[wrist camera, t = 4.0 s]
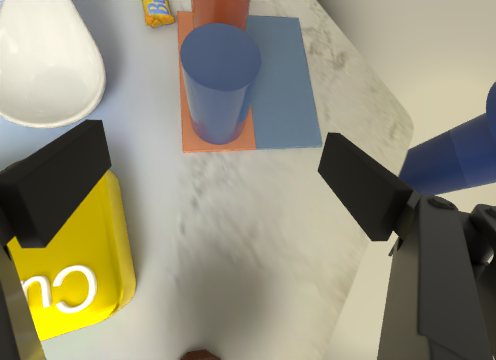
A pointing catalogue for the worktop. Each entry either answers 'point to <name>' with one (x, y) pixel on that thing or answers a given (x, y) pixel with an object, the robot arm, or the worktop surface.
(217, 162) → the worktop surface
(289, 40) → the mat
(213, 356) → the ice cream bowl
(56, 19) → the spoon rest
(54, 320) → the element tile
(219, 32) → the navy blue cylinder
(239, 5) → the orange cylinder
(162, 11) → the candy bar
